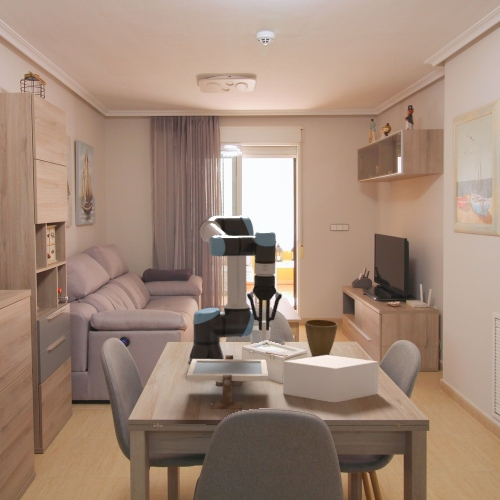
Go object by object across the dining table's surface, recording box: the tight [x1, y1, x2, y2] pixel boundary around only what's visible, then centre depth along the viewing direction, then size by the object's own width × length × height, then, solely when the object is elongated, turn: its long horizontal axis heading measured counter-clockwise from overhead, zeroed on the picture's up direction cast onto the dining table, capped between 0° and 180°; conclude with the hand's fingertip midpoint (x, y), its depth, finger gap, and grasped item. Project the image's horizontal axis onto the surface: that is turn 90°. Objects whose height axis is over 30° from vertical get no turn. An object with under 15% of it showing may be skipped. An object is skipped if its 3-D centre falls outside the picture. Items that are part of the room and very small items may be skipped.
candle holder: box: [249, 325, 271, 345], centre depth 248 cm, size 10×10×12 cm
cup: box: [268, 338, 286, 346], centre depth 231 cm, size 8×8×10 cm
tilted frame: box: [186, 358, 269, 382], centre depth 190 cm, size 28×21×2 cm
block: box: [282, 354, 379, 403], centre depth 193 cm, size 18×35×12 cm, turn 92°
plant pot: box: [304, 319, 339, 357], centre depth 242 cm, size 15×15×16 cm
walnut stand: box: [211, 354, 243, 410], centre depth 190 cm, size 10×27×11 cm, turn 1°
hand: (263, 339), depth 191 cm, fingers closed
